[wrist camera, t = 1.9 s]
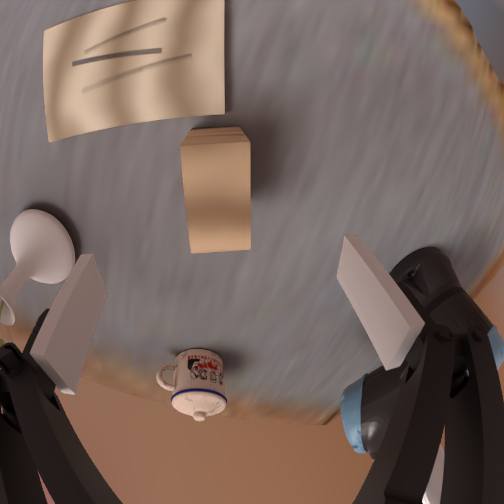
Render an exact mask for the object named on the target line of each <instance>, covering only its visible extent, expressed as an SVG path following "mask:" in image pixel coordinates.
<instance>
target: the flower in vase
mask: <svg viewBox="0 0 504 504" xmlns="http://www.w3.org/2000/svg"><path fill="white" fill-rule="evenodd" d="M10 243H11V249H12V253H13V256H14V258H15V261H16V263H17V264H16V266H15V268H14V270H13V271H12V273H11V274H10V275H9V276H8V277H7V279H6V280H5V281H4V282H3V283H1V284H0V323H2V324H4V325H8V326H10V325H13V324H14V322H15V314H14V307H15V302H16V299H17V296H18V294H19V292H20V290H21V289H22V287H23V285H24V284H25V283H26V281H27V280H28V279H29V278H32V279H34V280H36V281H38V282H42V283H48V284H54V283H59V282H61V281H63V280H64V279H66V278H67V277H68V275H69V274H70V272H71V270H72V268H73V267H74V265H75V251H74V246H73V243H72V240H71V238H70V236H69V234H68V232H67V230H66V229H65V227H64V226H63V225H62V224H61V223H60V222H59V221H58V220H57V219H56V218H55V217H54V216H52V215H51V214H49V213H47V212H44V211H41V210H36V209H30V210H26V211H23V212H21V213H20V214H19V215H18V216H17V217H16V219H15V220H14V222H13V225H12V228H11V232H10ZM4 344H5V343H4V341H3V340H2V339H0V347H1V346H2V345H4Z"/></svg>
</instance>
